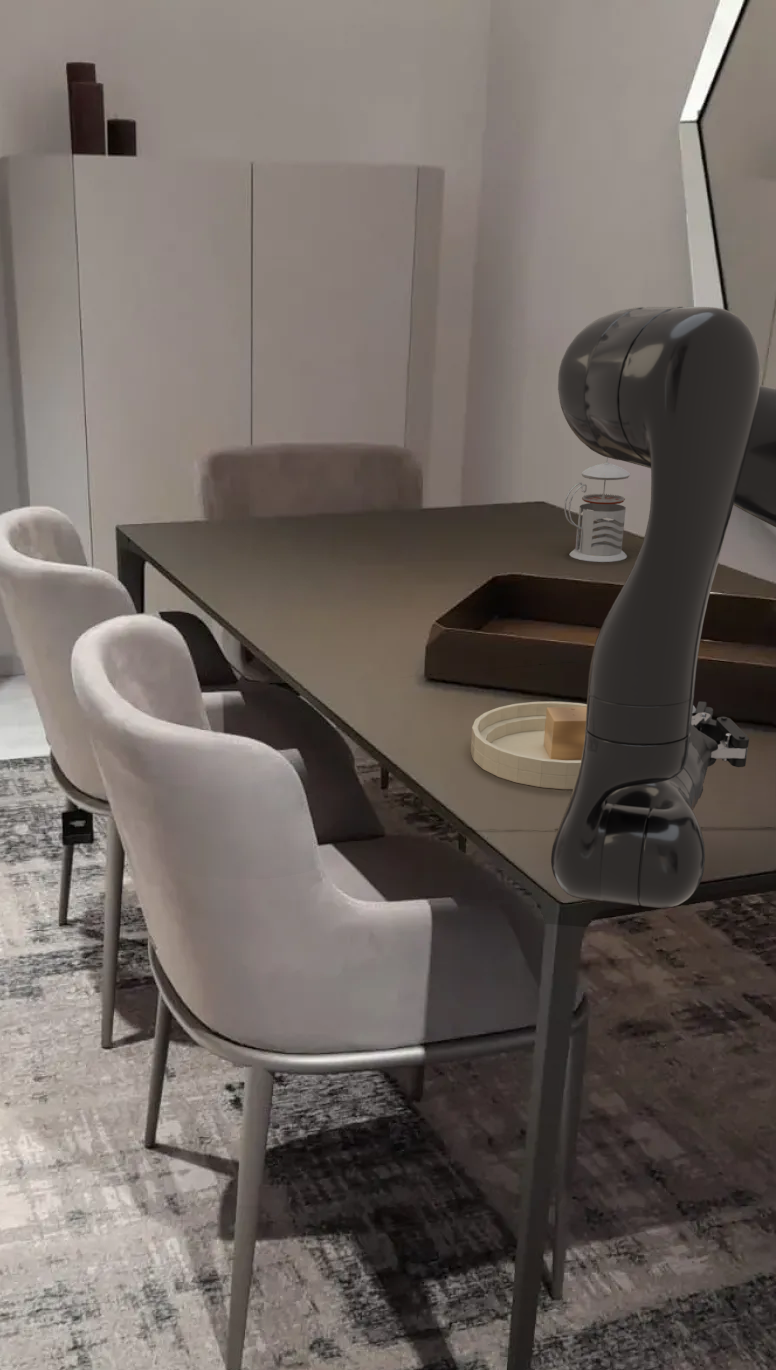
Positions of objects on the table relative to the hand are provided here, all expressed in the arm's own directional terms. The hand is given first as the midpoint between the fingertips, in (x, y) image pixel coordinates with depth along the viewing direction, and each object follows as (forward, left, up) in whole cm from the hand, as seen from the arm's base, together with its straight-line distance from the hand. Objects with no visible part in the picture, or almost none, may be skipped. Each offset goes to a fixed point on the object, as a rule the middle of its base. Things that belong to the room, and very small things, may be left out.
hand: (679, 709), depth 126 cm
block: (+5, -21, -12) cm, 25 cm away
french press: (-18, -117, -13) cm, 119 cm away
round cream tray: (+6, -20, -13) cm, 25 cm away
